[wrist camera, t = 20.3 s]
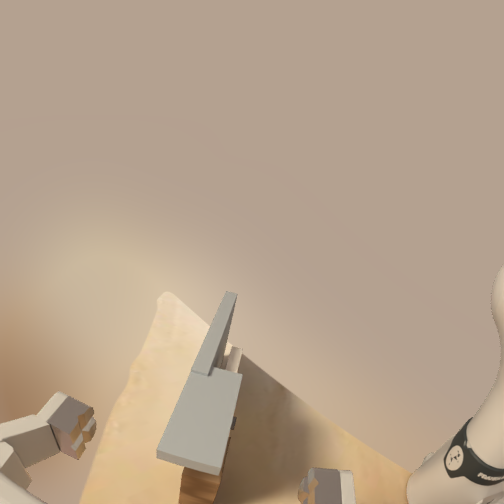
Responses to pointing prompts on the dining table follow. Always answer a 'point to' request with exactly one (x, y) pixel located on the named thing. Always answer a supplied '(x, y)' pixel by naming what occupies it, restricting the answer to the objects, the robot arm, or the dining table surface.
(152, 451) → the dining table surface
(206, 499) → the walnut block
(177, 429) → the wall
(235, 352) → the door panel
